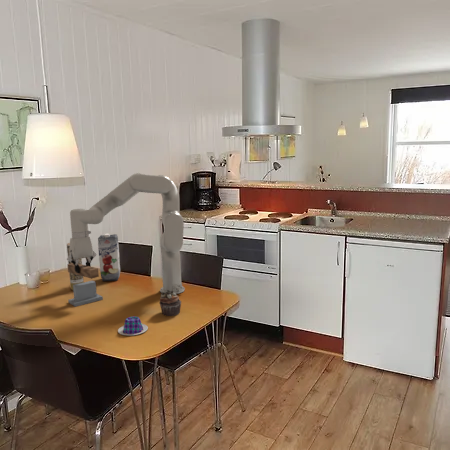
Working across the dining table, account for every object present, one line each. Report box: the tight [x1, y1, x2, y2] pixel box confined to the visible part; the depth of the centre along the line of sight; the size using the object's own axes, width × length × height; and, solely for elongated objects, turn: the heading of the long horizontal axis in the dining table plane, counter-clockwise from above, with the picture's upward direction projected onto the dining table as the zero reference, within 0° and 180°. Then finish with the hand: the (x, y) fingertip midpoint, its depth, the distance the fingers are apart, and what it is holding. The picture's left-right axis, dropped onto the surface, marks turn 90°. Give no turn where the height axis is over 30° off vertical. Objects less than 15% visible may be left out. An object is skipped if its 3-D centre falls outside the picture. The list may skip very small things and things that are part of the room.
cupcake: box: [159, 290, 182, 317], centre depth 193 cm, size 10×10×10 cm
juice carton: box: [97, 233, 121, 282], centre depth 245 cm, size 9×10×27 cm
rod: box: [67, 263, 100, 280], centre depth 210 cm, size 20×4×4 cm, turn 51°
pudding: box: [117, 315, 149, 336], centre depth 176 cm, size 12×12×5 cm
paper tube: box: [66, 242, 84, 291], centre depth 230 cm, size 7×7×25 cm
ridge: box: [67, 280, 104, 308], centre depth 212 cm, size 8×14×9 cm, turn 131°
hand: (83, 271), depth 210 cm, fingers closed on rod, 4 cm apart
